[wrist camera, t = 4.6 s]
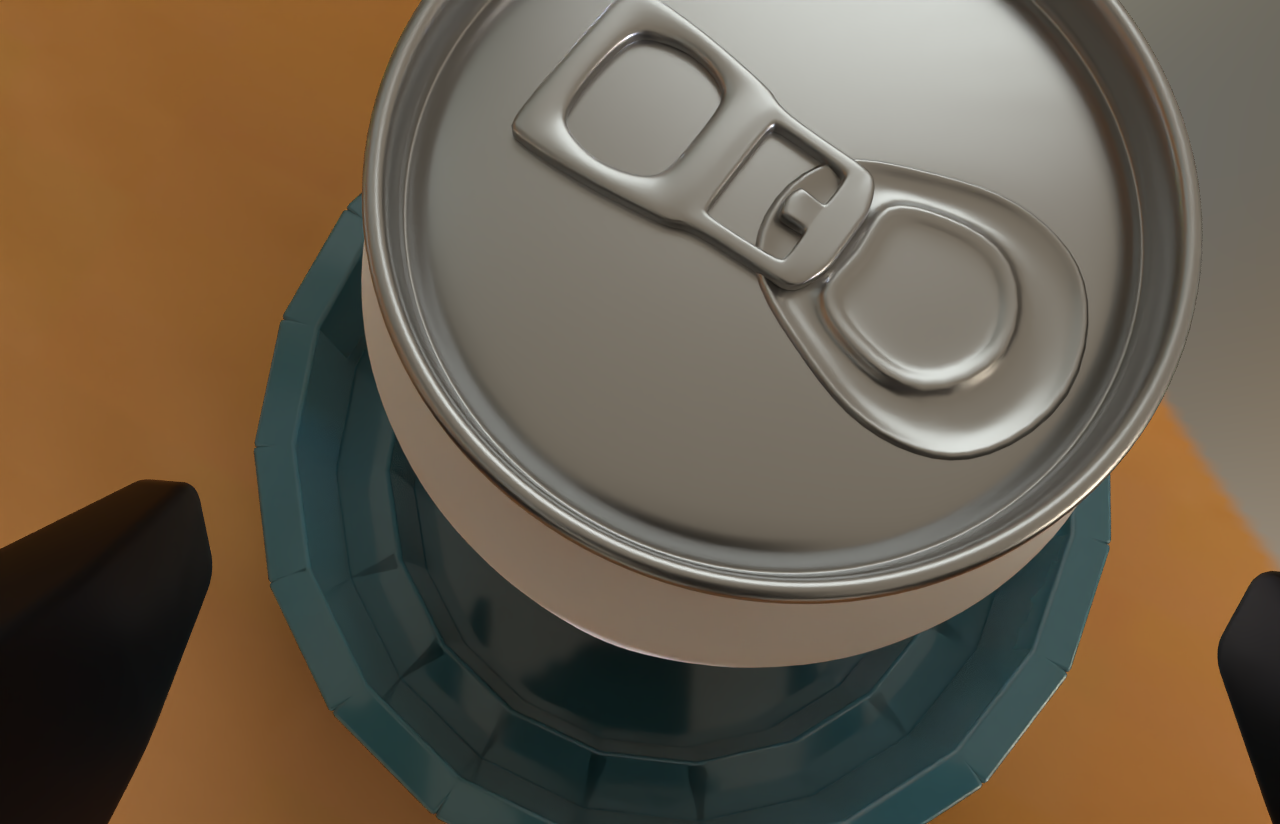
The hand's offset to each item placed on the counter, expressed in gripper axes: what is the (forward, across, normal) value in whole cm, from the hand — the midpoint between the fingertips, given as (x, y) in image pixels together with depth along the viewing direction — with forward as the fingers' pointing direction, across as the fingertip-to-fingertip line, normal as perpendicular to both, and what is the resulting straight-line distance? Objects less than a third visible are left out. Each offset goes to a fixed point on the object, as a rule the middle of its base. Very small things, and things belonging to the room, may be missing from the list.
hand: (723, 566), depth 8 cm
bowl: (+9, 0, +5) cm, 10 cm away
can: (+8, 0, +5) cm, 10 cm away
